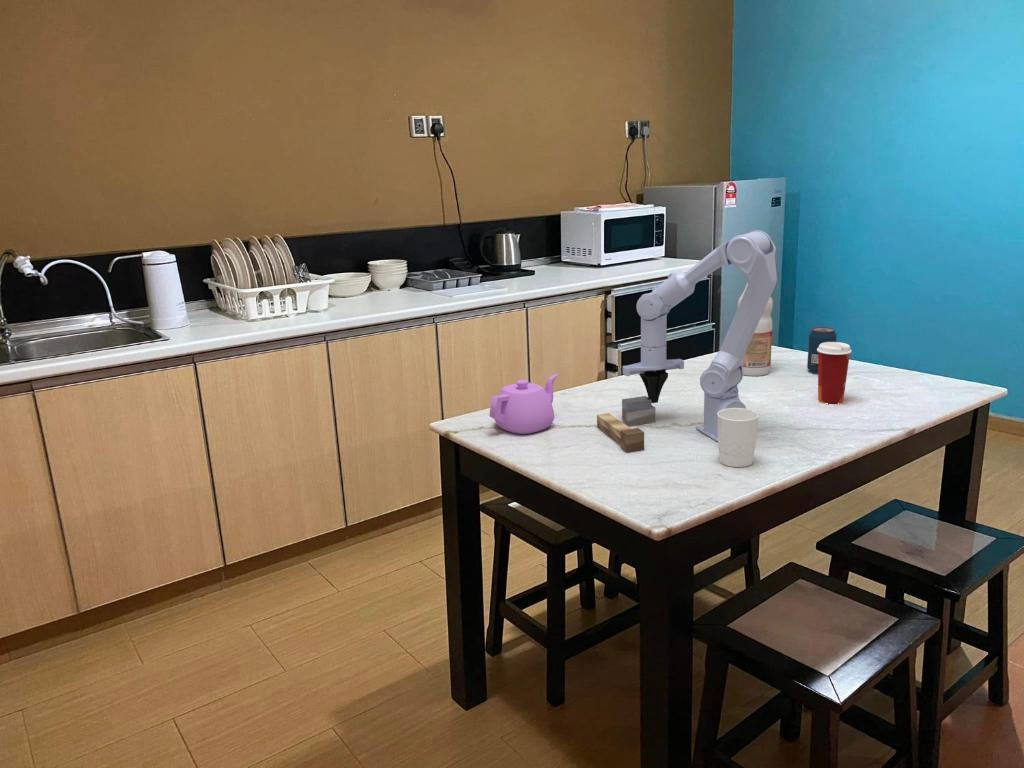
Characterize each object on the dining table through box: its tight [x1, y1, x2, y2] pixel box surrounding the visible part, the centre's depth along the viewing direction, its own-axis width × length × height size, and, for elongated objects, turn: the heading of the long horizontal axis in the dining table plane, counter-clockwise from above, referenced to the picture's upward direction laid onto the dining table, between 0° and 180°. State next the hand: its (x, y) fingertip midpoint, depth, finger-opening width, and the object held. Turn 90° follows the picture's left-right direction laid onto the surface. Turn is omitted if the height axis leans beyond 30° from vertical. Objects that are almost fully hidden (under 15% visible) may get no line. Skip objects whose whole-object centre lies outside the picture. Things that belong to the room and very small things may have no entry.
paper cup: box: [817, 341, 853, 405], centre depth 189 cm, size 8×8×14 cm
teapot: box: [488, 373, 559, 435], centre depth 183 cm, size 13×20×11 cm
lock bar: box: [621, 395, 653, 411], centre depth 181 cm, size 3×6×2 cm, turn 107°
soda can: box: [806, 326, 837, 375], centre depth 213 cm, size 7×7×12 cm
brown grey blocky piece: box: [596, 404, 656, 454], centre depth 175 cm, size 18×14×4 cm
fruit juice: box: [737, 282, 774, 377], centre depth 214 cm, size 9×9×28 cm
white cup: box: [717, 408, 760, 468], centre depth 157 cm, size 8×8×10 cm
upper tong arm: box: [596, 412, 632, 439], centre depth 174 cm, size 14×3×2 cm, turn 17°
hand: (653, 401), depth 183 cm, fingers closed
